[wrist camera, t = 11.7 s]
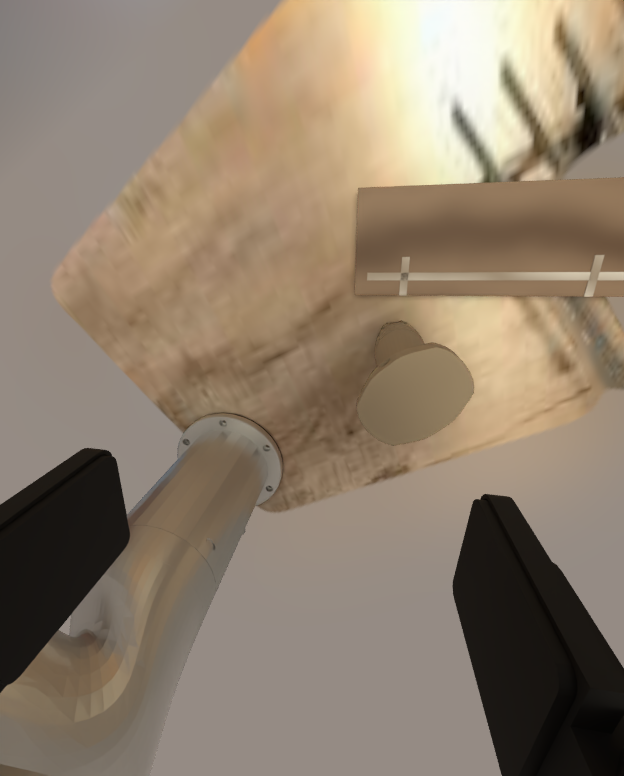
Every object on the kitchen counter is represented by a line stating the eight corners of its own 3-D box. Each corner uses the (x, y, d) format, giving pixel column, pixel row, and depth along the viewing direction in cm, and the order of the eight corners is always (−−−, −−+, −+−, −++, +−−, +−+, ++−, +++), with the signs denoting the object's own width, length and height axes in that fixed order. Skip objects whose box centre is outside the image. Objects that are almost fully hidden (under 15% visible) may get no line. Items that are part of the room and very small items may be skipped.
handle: (439, 333, 32) (491, 397, 18) (384, 375, 34) (393, 459, 21) (407, 293, 31) (436, 329, 17) (352, 339, 33) (340, 401, 20)
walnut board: (623, 292, 29) (646, 297, 26) (355, 291, 32) (354, 295, 29) (658, 181, 26) (688, 174, 23) (359, 192, 29) (358, 187, 26)
